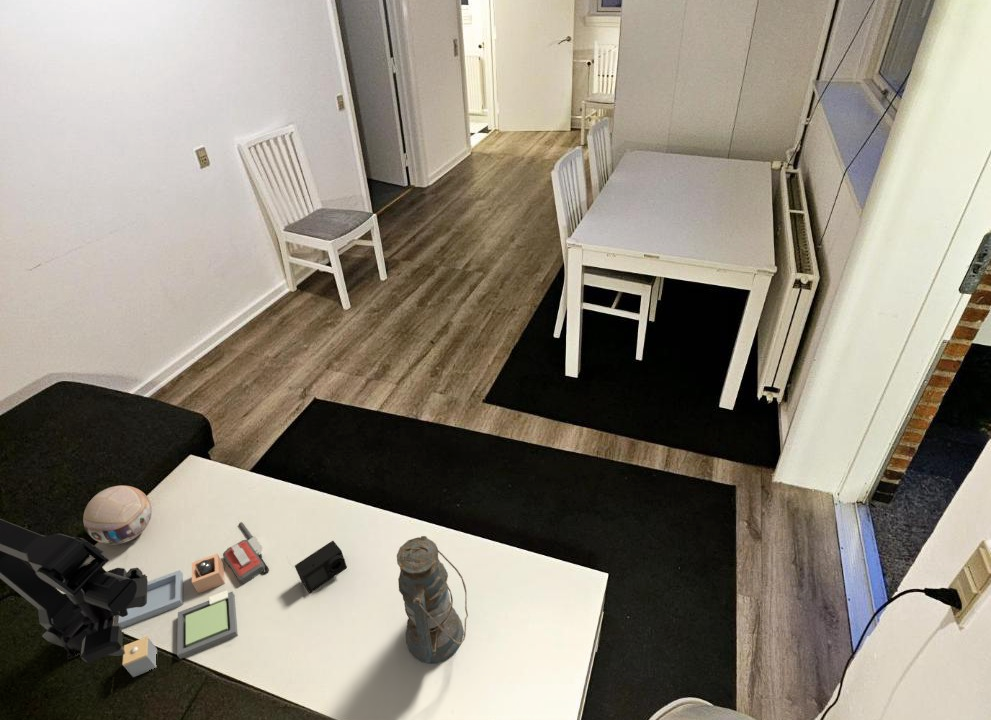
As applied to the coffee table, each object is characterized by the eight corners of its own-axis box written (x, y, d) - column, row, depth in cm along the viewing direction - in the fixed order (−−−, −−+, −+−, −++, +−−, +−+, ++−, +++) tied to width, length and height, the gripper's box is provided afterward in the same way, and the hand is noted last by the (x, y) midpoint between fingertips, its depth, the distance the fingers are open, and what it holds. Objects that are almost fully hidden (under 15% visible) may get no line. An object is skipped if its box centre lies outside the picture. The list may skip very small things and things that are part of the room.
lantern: (410, 595, 133) (390, 511, 116) (471, 592, 133) (459, 508, 116) (401, 681, 118) (375, 599, 100) (469, 678, 117) (456, 595, 100)
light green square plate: (187, 646, 125) (185, 644, 124) (187, 617, 130) (185, 615, 130) (228, 630, 127) (226, 628, 127) (226, 602, 133) (225, 600, 133)
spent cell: (205, 585, 138) (196, 570, 135) (205, 576, 140) (196, 561, 137) (217, 580, 139) (209, 566, 136) (217, 571, 141) (208, 557, 138)
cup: (199, 594, 137) (191, 582, 134) (198, 575, 141) (191, 563, 138) (225, 584, 139) (218, 572, 136) (224, 565, 143) (217, 553, 140)
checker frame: (181, 660, 124) (176, 654, 122) (181, 615, 132) (177, 609, 131) (238, 636, 127) (234, 630, 126) (235, 594, 136) (231, 588, 135)
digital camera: (311, 597, 135) (304, 580, 131) (301, 582, 138) (293, 565, 134) (349, 570, 140) (343, 553, 136) (339, 557, 143) (332, 539, 139)
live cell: (134, 678, 121) (121, 663, 117) (136, 659, 125) (123, 644, 121) (157, 669, 123) (145, 654, 119) (158, 650, 126) (146, 635, 122)
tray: (123, 629, 130) (118, 623, 129) (126, 597, 137) (121, 591, 136) (183, 606, 134) (179, 600, 133) (183, 575, 141) (180, 569, 140)
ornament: (96, 529, 155) (69, 492, 146) (155, 502, 162) (132, 465, 153) (103, 566, 145) (74, 529, 136) (165, 536, 152) (142, 498, 143)
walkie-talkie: (278, 569, 142) (245, 523, 154) (273, 558, 139) (240, 513, 152) (244, 591, 137) (213, 543, 150) (238, 581, 135) (207, 532, 147)
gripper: (132, 613, 103) (165, 657, 112) (137, 538, 117) (166, 582, 126) (62, 640, 100) (102, 683, 109) (76, 559, 114) (111, 603, 123)
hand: (123, 634), depth 117 cm, fingers open, 9 cm apart
